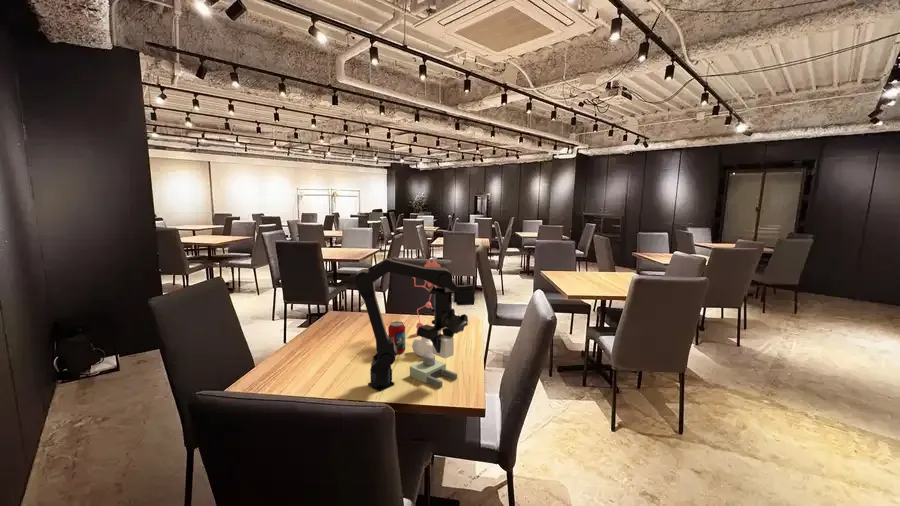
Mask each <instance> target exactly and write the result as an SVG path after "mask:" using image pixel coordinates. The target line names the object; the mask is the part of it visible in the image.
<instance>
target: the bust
mask: <svg viewBox="0 0 900 506" xmlns="http://www.w3.org/2000/svg"><path fill="white" fill-rule="evenodd" d="M411 348H412V351H413V352H414V353H415V354H416V356H419V357H421V358H423V355H425V354H433V350H432V341H430V339H427V338H424V337H417V338H414V339H413V341H412V344H411Z"/></svg>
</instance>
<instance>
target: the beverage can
mask: <svg viewBox="0 0 900 506" xmlns="http://www.w3.org/2000/svg"><path fill="white" fill-rule="evenodd" d="M387 335H388V336H389V338H392V337H394V343H395V345H396V346H397V355H400V354H402V353H404V352H405V351H406V326H405V324H404V322H403V321H398V320H397V321H393V322H390V324H389V325H388V333H387Z"/></svg>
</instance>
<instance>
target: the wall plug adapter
mask: <svg viewBox="0 0 900 506" xmlns="http://www.w3.org/2000/svg"><path fill="white" fill-rule="evenodd" d="M409 376H410V377H412V378H414V379H416V380H418V381H420V382H422V383H424V384H426V383H428V384H431V385H432V386H435V387H438V388H439V389H441V388H443V380H441V379H438V378H439V377H441V376H444V377H447V378H448V379H451V380H453V379H454V381H456V379H457V380H458V373H456V372H453V371H451V370H449V369H447V364H446V363H445V362H442V361H439V360H437V359H436V355H434V354H433V353H432V354H425V355H423V357H422V360H421V361H419V362H416V363H415V364H412V365H410V366H409Z"/></svg>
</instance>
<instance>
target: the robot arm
mask: <svg viewBox="0 0 900 506" xmlns="http://www.w3.org/2000/svg"><path fill="white" fill-rule="evenodd" d="M387 273H391V274H397V275H401V276H406V277H411V278H412V277H414V278H415V279H420V280H423V281H424V280H426V281H428V282H430V283H432V284H433V285H432V286H431V287H429V288H428V289H429V290H427V291H428V294H429V295H430V294H432V295H433V297H434V299H433V302H434V303H433V307H432V308H433V309H432V308H431V312H432V313H433V314H434V315H433V316H434V317H433V318H434V319H433V320H431V324H433V325H434V324H435V326H433V325H429V324H423V326H420V327H419V328H418V329H417V328H416V332H417V336H418V337H420V338H422V337H424V338H427V339H430V340H431V342H432V343H433V345H434V347H435V349H436V352H437V353H440V348H441V338H442V337H443V336H444V335H446V336H449V337H452V338H454V336H455V335H456V334H458V333H460V332H464V330H465V327H468V325H469V324H468V323H469V317H468V315H467V314H465V313H464V314H460V315H459V314H458V315H457V314H456V312H455V308H452V302H453V303H454V304H455V305H456V306H474V305H475V292H474V286H473V285H472V284H465V285H464V284H462V285H457V283H456V282H455V281H453V275H452V273H451V272H450V270H448V268H446V267H442V266H440V267H424V266H422V265H417V264H413V263H408V262H405V261H404V262H403V261H400V260H393V259H392V258H388V257H387V258H386V257H385V258H383V260H381V261H380V262H378V263H376V264H374V265H371V266H370V267H369V268H362V269H359V271H357V273H356V274H355V276H354V279H353V282H354V286H355V288H356V290H357V292H358V294H359V296H360V297H361V298H362V300H363V301H364V304H365V309H366V312H367V315H368V319H369V322H370V325H371V328H372V331H373V336H374V339H375V347H376V349H375V350H376V353H375V354H374V355H373V356H372V358H371V359H372V360H371V365H370V369H369V370H370V372H369V373H370V382H368V383H367V386H369V387H370V388H372V389H374V390H376V391H377V392H381V391H383V390H385V389H388V388H389V387H392V386H394V385H395V382H394V381H393V369H392V365H393V364H394V363H395V361H396V356H397V355H398V354H397V346H396V345H395V343H394V337H392V338H389V336H388V333H387V330H386V327H385V323H384V319H383V316H382V312H381V309H380V305H379V301H378V298H377V295H376V283H375V282H376V281H377V280H379V279H380V278H382V277H383V276H385V275H386V274H387ZM428 282H427V283H428ZM434 285H436V286H438V287H435V286H434ZM449 289H450V290H449ZM442 330H443V331H442ZM441 334H443V335H441Z"/></svg>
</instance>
